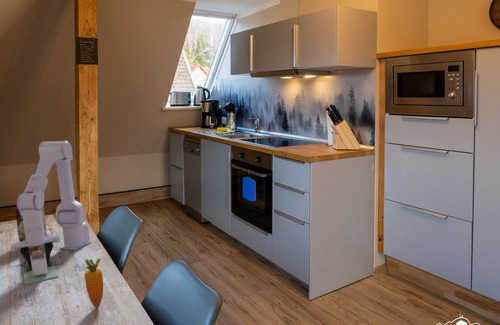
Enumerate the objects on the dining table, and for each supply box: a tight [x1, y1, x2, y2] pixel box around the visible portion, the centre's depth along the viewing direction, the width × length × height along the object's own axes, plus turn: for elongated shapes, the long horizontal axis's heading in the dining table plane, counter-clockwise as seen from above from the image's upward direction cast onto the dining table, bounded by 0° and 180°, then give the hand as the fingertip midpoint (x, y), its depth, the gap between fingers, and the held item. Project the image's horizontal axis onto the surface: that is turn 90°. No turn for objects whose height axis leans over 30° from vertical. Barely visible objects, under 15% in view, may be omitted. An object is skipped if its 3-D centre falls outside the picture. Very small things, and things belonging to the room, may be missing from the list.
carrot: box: [84, 257, 104, 309], centre depth 116 cm, size 5×5×15 cm
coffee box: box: [14, 204, 48, 242], centre depth 171 cm, size 9×6×16 cm
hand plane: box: [24, 245, 53, 272], centre depth 154 cm, size 20×8×6 cm, turn 30°
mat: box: [22, 265, 59, 286], centre depth 140 cm, size 10×10×1 cm
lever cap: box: [30, 252, 48, 276], centre depth 140 cm, size 6×4×6 cm
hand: (39, 266), depth 140 cm, fingers closed on lever cap, 4 cm apart
